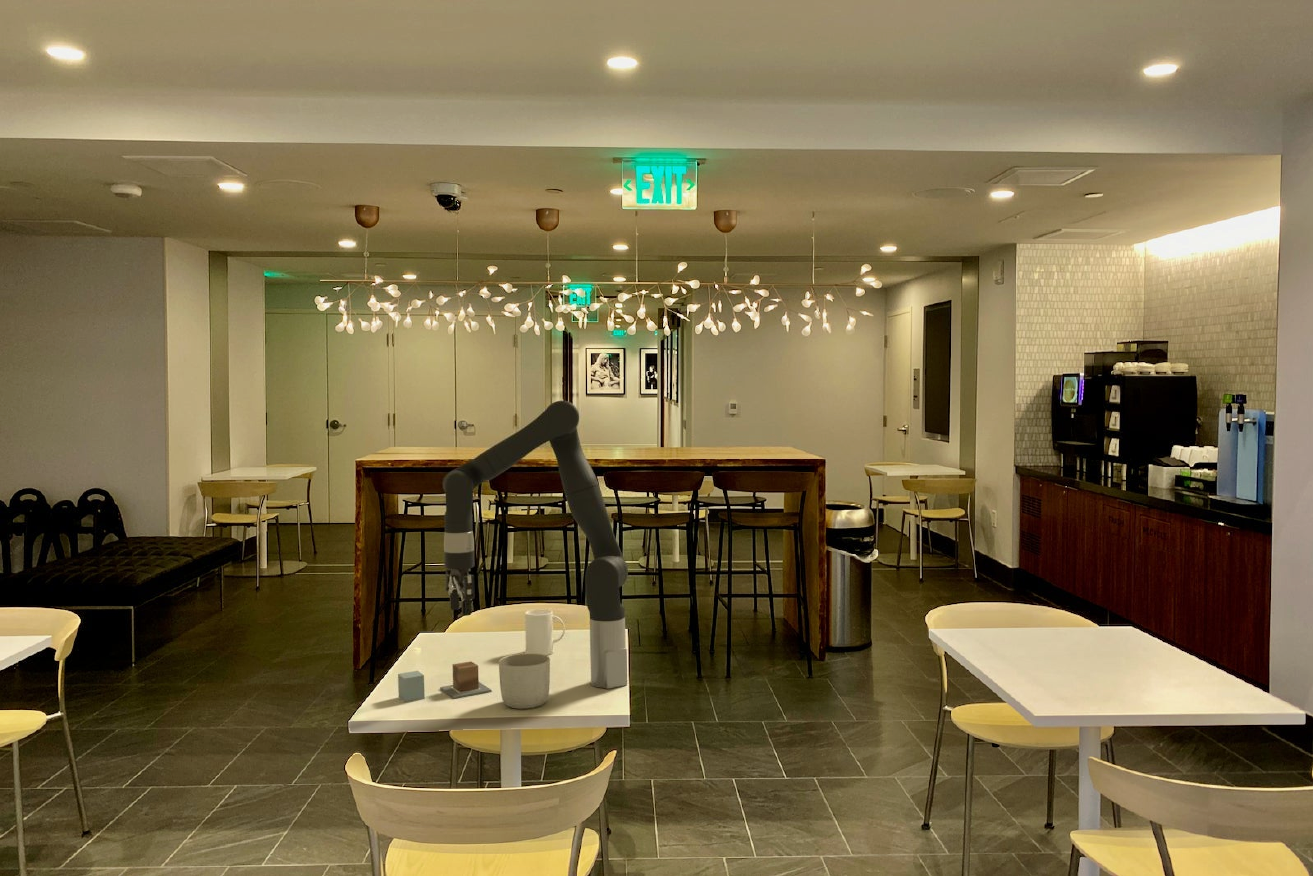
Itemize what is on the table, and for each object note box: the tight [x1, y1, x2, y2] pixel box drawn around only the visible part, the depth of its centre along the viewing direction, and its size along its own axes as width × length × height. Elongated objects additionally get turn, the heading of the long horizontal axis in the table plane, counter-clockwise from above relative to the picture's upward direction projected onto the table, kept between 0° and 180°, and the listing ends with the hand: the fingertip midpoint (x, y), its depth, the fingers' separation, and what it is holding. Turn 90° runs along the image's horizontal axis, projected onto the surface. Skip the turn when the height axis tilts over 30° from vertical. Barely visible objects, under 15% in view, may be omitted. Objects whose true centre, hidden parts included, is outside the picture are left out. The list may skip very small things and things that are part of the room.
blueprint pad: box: [439, 681, 493, 699], centre depth 243 cm, size 10×10×1 cm
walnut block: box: [452, 661, 480, 692], centre depth 243 cm, size 5×5×6 cm
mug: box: [524, 608, 566, 656], centre depth 279 cm, size 12×8×12 cm
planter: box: [498, 652, 551, 710], centre depth 231 cm, size 12×12×11 cm
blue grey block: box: [397, 670, 425, 703], centre depth 238 cm, size 5×5×6 cm
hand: (460, 612), depth 242 cm, fingers open, 8 cm apart
